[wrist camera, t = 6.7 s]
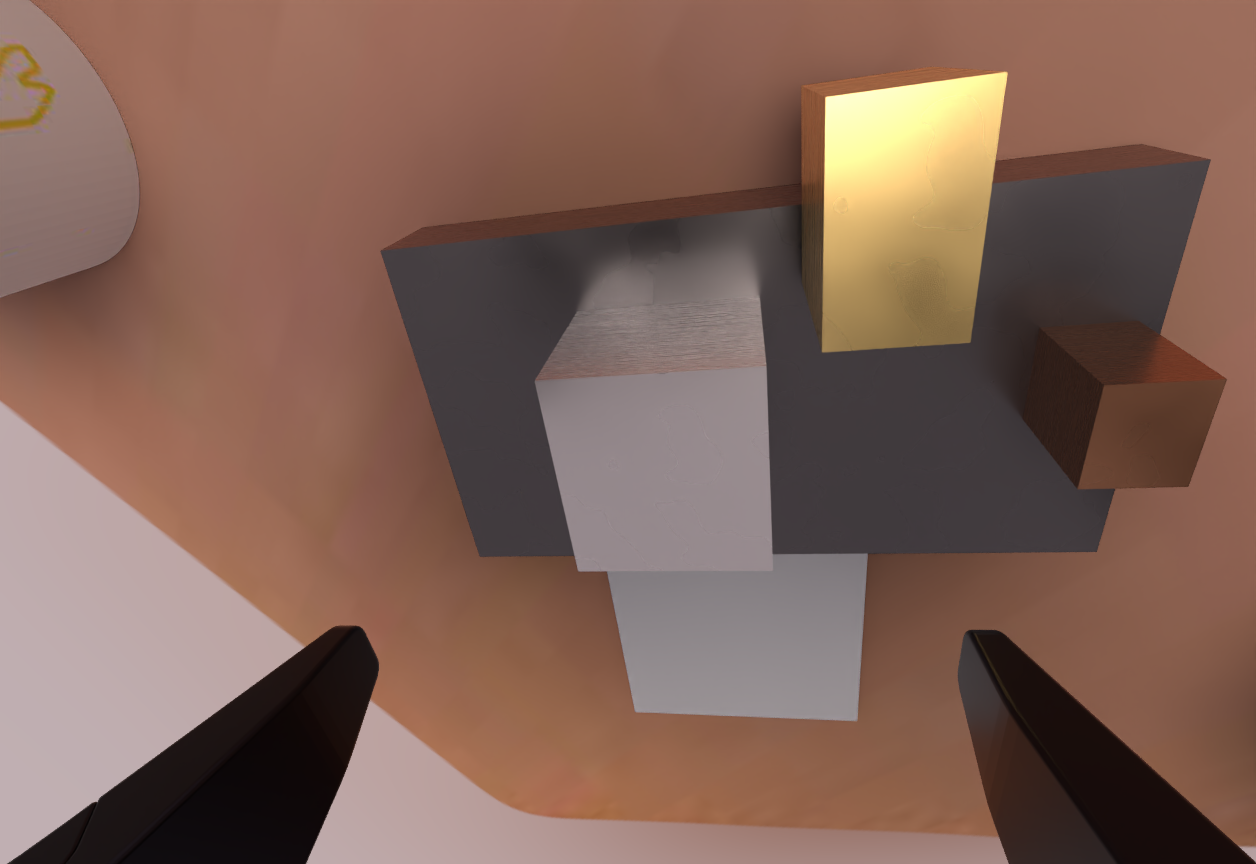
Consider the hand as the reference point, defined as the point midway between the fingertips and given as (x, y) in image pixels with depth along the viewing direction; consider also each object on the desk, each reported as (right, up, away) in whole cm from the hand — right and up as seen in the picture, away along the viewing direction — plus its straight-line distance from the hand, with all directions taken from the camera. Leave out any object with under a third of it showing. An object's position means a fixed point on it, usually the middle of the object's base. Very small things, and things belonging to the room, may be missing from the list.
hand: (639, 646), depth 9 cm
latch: (+5, +8, +4) cm, 10 cm away
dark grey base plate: (+4, +5, +9) cm, 11 cm away
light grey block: (+1, +4, +7) cm, 9 cm away
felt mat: (+4, -4, +15) cm, 16 cm away
